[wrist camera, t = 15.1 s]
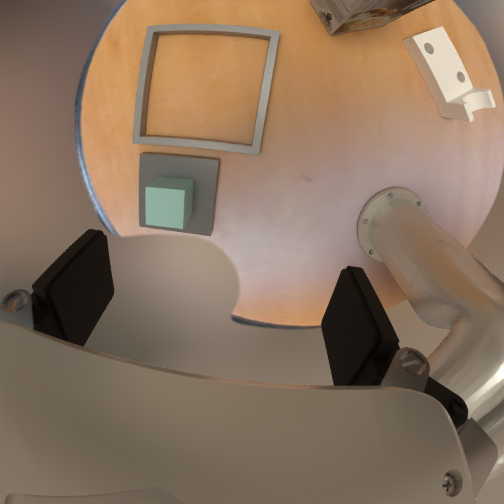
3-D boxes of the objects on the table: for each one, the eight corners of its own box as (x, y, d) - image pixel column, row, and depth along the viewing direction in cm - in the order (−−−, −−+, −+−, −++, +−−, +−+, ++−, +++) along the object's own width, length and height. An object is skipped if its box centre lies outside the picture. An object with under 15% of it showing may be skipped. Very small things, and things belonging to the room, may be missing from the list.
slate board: (219, 158, 35) (218, 160, 34) (211, 231, 41) (210, 236, 39) (144, 152, 35) (139, 153, 33) (143, 222, 40) (139, 226, 39)
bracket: (465, 101, 28) (495, 106, 21) (440, 116, 30) (470, 122, 24) (430, 30, 23) (458, 22, 16) (400, 40, 25) (427, 32, 18)
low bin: (278, 35, 26) (280, 31, 25) (258, 153, 35) (258, 155, 33) (153, 29, 26) (147, 26, 24) (138, 141, 34) (132, 143, 32)
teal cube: (193, 179, 35) (184, 190, 31) (191, 214, 38) (183, 229, 33) (158, 176, 35) (145, 186, 31) (158, 210, 37) (145, 224, 33)
